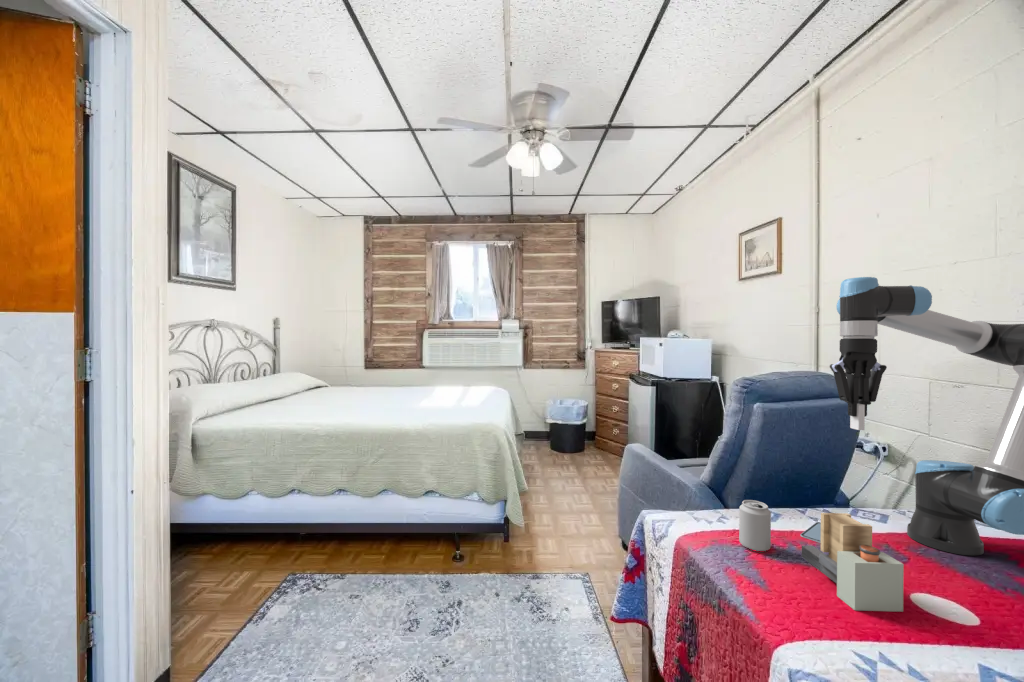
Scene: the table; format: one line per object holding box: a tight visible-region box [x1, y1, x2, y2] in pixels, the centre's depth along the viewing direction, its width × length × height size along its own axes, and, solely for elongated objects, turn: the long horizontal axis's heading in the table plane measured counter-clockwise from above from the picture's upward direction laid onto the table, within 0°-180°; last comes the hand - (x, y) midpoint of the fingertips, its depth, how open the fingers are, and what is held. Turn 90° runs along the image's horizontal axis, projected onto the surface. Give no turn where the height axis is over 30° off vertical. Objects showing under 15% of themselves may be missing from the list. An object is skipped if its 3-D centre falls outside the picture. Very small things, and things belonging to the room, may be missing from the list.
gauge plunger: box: [859, 545, 881, 562], centre depth 90 cm, size 3×3×4 cm
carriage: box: [819, 512, 873, 584], centre depth 97 cm, size 7×7×14 cm
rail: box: [801, 545, 837, 585], centre depth 101 cm, size 3×17×3 cm, turn 179°
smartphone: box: [800, 521, 821, 544], centre depth 123 cm, size 7×1×15 cm
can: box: [738, 499, 772, 552], centre depth 115 cm, size 8×8×12 cm
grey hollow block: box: [836, 551, 905, 613], centre depth 90 cm, size 10×5×10 cm, turn 89°
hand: (857, 428), depth 107 cm, fingers closed
